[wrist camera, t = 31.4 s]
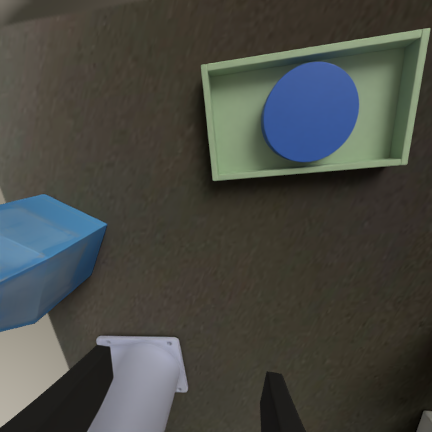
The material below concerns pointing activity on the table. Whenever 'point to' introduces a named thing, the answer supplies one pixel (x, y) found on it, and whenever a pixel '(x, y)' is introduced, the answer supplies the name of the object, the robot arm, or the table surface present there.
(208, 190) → the table surface
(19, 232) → the perfume bottle
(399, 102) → the tray
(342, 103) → the lid
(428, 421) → the small box
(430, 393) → the table surface
